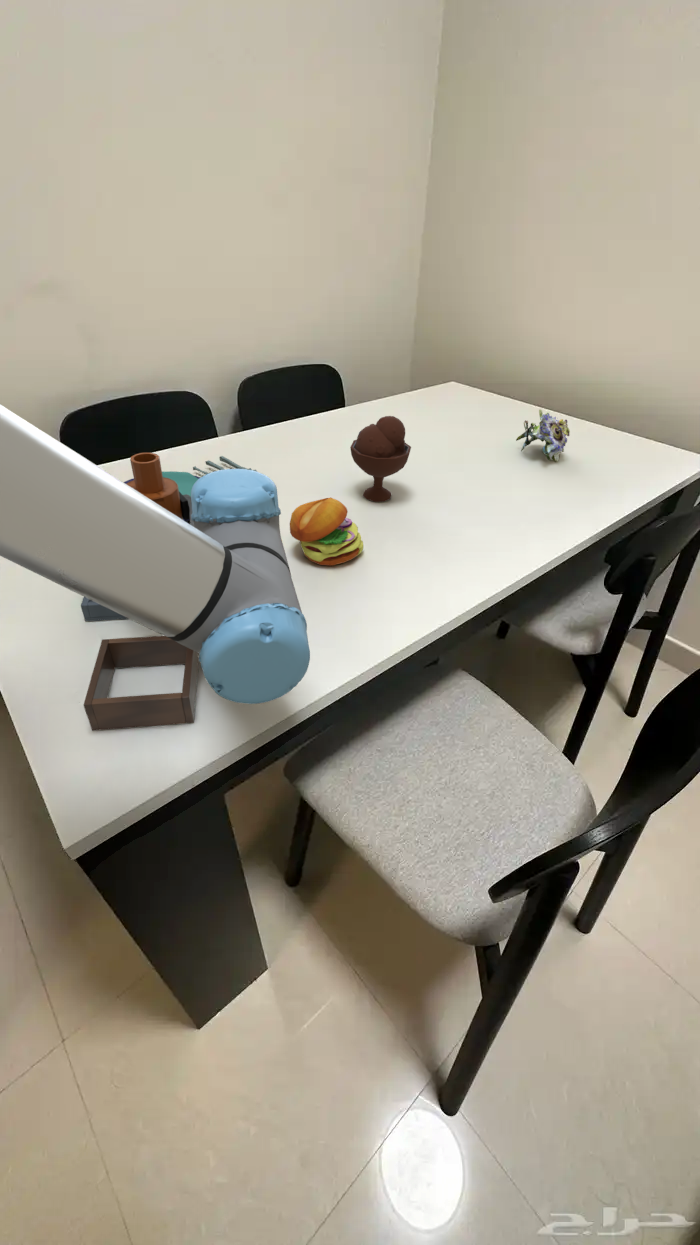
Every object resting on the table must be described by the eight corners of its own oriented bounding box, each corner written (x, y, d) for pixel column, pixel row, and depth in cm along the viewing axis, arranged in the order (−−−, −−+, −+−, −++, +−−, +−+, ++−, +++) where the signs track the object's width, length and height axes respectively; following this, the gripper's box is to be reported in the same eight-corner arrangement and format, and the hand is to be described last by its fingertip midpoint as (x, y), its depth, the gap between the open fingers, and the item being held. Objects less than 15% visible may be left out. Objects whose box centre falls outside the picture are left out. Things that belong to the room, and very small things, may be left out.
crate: (92, 731, 62) (83, 704, 60) (109, 664, 70) (101, 639, 68) (193, 722, 64) (189, 697, 61) (198, 658, 72) (195, 633, 69)
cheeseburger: (366, 570, 89) (353, 513, 83) (298, 582, 90) (281, 527, 84) (363, 536, 97) (352, 482, 91) (301, 547, 98) (286, 494, 92)
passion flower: (547, 483, 131) (560, 453, 120) (503, 464, 133) (512, 433, 122) (568, 444, 133) (583, 411, 122) (524, 426, 136) (535, 392, 124)
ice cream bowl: (387, 479, 116) (394, 403, 107) (416, 503, 108) (426, 423, 99) (339, 487, 112) (342, 408, 103) (365, 512, 104) (370, 430, 95)
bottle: (137, 587, 79) (111, 469, 69) (143, 560, 85) (120, 447, 74) (188, 584, 80) (170, 468, 70) (191, 558, 86) (175, 447, 75)
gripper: (125, 631, 63) (73, 538, 78) (286, 580, 72) (212, 506, 87) (111, 573, 58) (58, 486, 73) (285, 527, 67) (207, 458, 82)
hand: (142, 497), depth 80 cm, fingers closed on bottle, 7 cm apart
